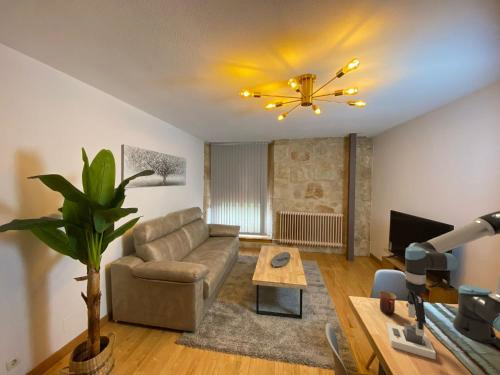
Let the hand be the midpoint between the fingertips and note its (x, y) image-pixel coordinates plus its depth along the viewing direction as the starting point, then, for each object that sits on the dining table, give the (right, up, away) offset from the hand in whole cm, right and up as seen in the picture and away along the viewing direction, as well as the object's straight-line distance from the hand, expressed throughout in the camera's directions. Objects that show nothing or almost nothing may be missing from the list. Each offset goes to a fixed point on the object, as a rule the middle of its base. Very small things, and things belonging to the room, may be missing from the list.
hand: (415, 325), depth 99 cm
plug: (-1, -8, 0) cm, 8 cm away
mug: (+2, -8, +23) cm, 25 cm away
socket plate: (-2, -9, +1) cm, 9 cm away
